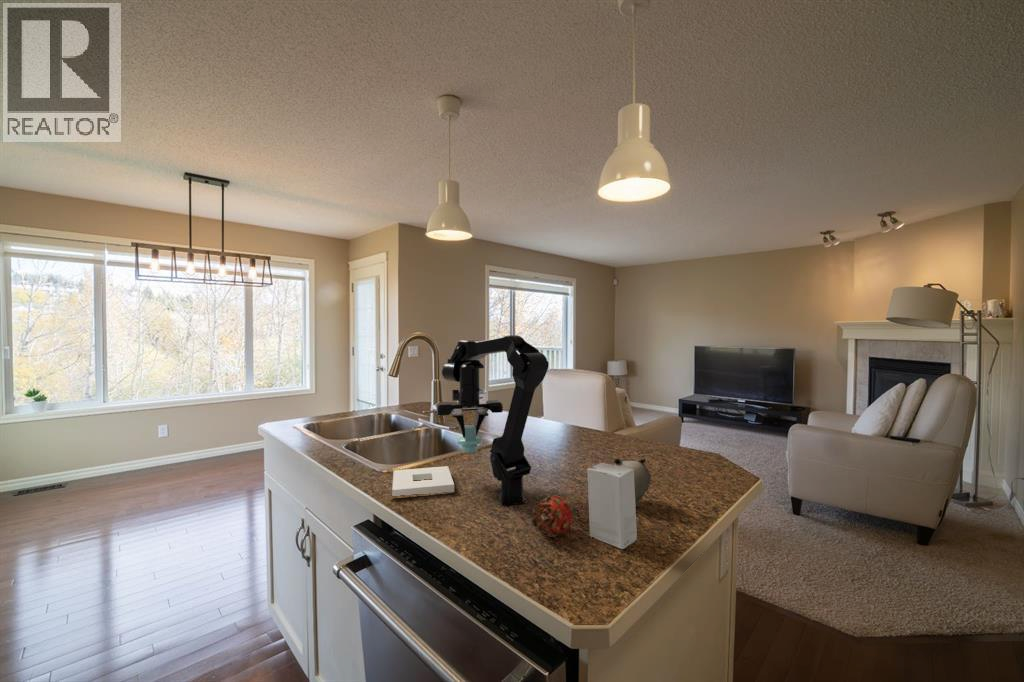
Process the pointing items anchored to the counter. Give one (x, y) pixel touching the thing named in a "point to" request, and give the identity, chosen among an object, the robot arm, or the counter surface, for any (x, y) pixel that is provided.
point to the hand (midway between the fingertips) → (469, 437)
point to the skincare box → (612, 504)
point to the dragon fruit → (552, 516)
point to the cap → (469, 440)
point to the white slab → (422, 481)
